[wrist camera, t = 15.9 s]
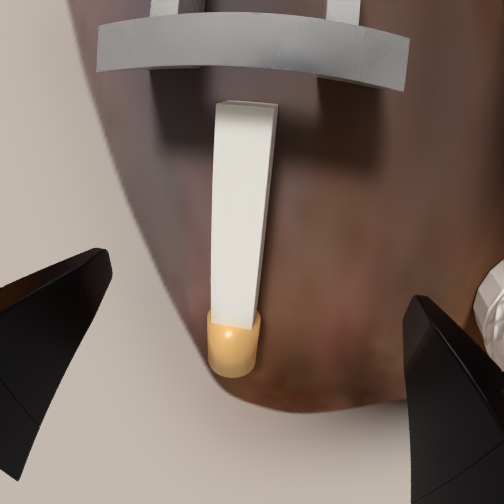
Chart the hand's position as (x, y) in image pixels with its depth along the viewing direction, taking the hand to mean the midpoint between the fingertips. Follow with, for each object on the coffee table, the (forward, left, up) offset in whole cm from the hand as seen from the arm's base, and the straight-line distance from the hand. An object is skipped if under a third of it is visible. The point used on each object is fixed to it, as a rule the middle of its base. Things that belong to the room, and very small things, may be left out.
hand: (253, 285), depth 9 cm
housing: (+2, -9, -9) cm, 13 cm away
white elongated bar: (+2, +4, -9) cm, 10 cm away
